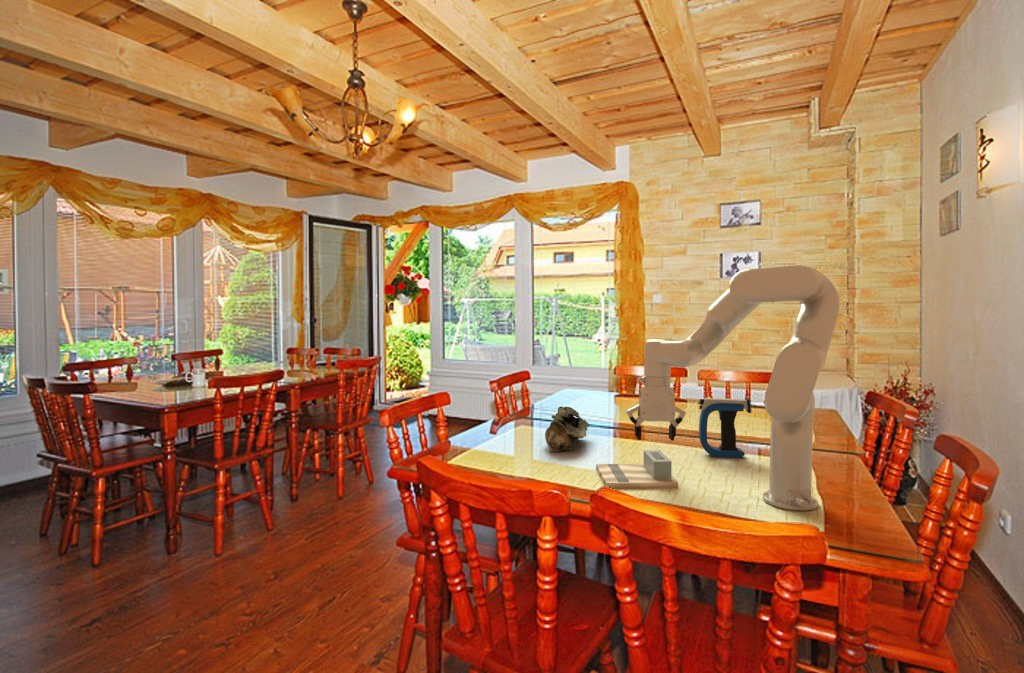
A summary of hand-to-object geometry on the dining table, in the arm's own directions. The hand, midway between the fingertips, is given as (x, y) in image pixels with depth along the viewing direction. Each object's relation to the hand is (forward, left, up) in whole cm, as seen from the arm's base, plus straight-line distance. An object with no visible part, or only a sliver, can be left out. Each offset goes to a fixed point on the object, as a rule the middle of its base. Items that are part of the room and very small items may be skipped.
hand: (654, 439), depth 161 cm
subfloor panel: (0, +6, -11) cm, 13 cm away
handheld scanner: (+22, -29, -12) cm, 38 cm away
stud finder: (0, -1, -10) cm, 10 cm away
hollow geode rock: (+39, +21, -12) cm, 46 cm away
